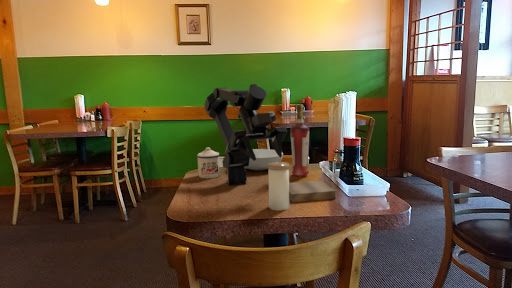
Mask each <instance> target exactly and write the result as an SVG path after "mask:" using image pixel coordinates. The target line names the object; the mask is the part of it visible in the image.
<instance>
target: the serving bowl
mask: <svg viewBox="0 0 512 288" xmlns="http://www.w3.org/2000/svg"><path fill="white" fill-rule="evenodd" d="M252 149H253V152H254V154H255V157H256V160H255V161H254V160H252V159H251V158H250V160H249V166H245V169H248V170H250V171H251V170H252V171H265V170H267V171H268V166H267V164H269V163H272V162H282V160H283V157H284V153H283V151H282V156H281V157H279V156H278V155H277V153H276V151H275V150H274V149H270V148H269V149H268V148H260V149H259V148H255V149H254V148H252Z"/></svg>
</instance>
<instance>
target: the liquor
mask: <svg viewBox="0 0 512 288" xmlns="http://www.w3.org/2000/svg"><path fill="white" fill-rule="evenodd" d="M295 108H296V110H295V111H296V117H295V118H296V119H295V124H294V125H293V126H291V127H290V142H291V143H290V145H291V158H292V159H291V160H292V171H291V174H292V175H293V176H295V177H297V178H303V177H307V175H308V174H309V173H310V171H309V147H310V127H309V126H307V125H305V123H304V122H305V121H304V115H303V114H304V113H303V112H304V104H296V105H295Z"/></svg>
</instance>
